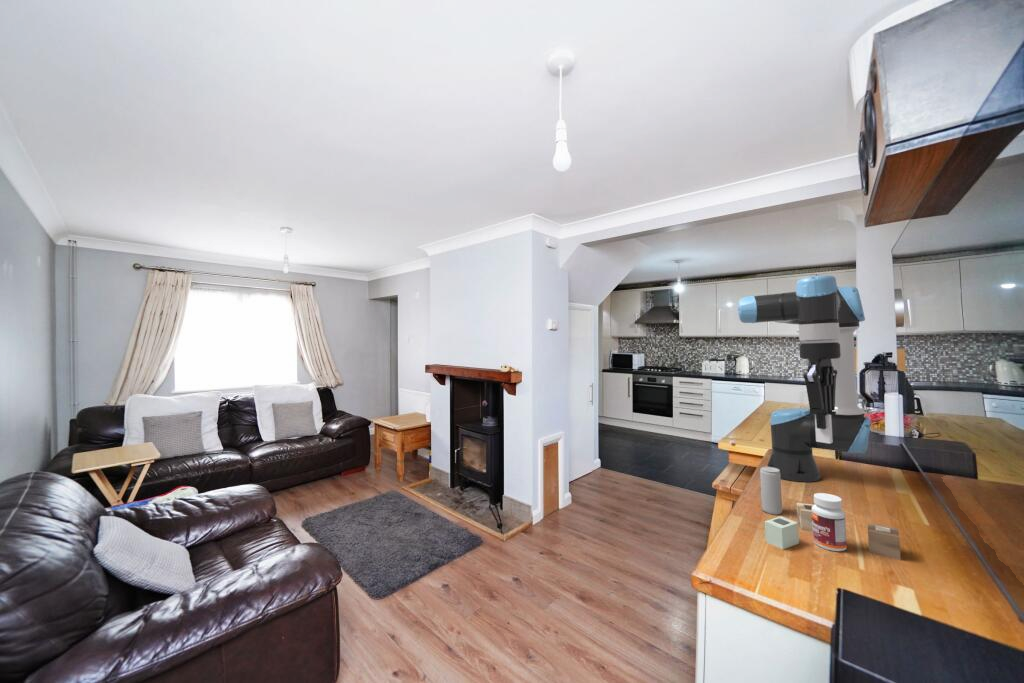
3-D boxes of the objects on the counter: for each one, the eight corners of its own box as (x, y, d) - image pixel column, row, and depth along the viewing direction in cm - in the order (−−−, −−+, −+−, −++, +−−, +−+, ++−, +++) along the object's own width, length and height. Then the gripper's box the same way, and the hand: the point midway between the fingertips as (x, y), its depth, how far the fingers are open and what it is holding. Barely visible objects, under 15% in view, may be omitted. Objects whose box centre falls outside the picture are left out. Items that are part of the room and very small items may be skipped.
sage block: (781, 536, 95) (780, 515, 95) (799, 543, 91) (798, 521, 91) (765, 542, 93) (764, 520, 93) (782, 549, 89) (781, 527, 89)
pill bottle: (806, 541, 92) (804, 494, 92) (824, 536, 94) (822, 490, 94) (835, 554, 86) (832, 504, 86) (853, 549, 88) (851, 499, 88)
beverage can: (785, 515, 105) (783, 472, 105) (766, 515, 106) (764, 471, 106) (777, 508, 110) (775, 466, 110) (758, 507, 111) (756, 466, 111)
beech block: (797, 521, 102) (796, 502, 102) (821, 524, 100) (820, 504, 100) (801, 529, 97) (800, 509, 98) (826, 533, 95) (825, 512, 95)
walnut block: (868, 543, 90) (867, 521, 90) (898, 550, 86) (897, 527, 86) (869, 553, 86) (867, 529, 86) (900, 560, 83) (899, 536, 83)
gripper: (811, 341, 97) (816, 435, 97) (788, 343, 90) (793, 443, 90) (849, 340, 91) (854, 440, 90) (827, 342, 84) (833, 450, 83)
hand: (824, 441), depth 90 cm, fingers closed
